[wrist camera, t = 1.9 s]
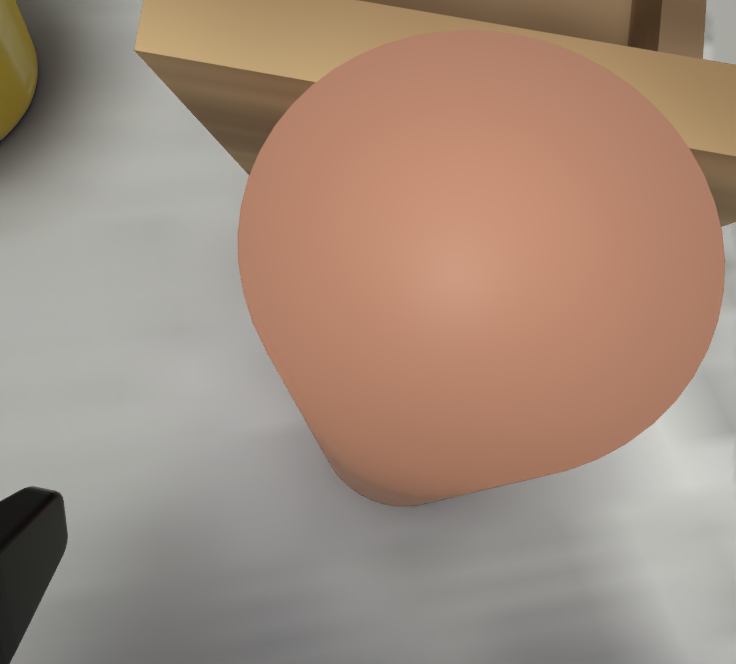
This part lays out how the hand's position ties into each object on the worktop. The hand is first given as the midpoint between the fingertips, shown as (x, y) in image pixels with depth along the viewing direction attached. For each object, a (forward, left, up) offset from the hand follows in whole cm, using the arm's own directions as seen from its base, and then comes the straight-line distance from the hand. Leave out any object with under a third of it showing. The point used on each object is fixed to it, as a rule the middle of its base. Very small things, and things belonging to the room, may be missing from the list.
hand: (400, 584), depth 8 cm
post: (+3, -2, -10) cm, 11 cm away
